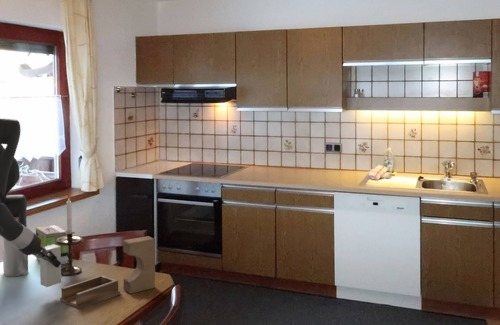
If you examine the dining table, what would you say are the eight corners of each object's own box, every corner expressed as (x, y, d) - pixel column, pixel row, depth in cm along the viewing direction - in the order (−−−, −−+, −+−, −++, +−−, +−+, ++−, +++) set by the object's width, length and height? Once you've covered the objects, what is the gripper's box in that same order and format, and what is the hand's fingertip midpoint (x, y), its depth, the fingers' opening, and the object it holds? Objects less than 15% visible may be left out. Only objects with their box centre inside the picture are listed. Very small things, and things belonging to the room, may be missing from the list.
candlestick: (88, 268, 229) (86, 189, 225) (77, 277, 219) (75, 193, 214) (64, 267, 231) (62, 188, 226) (52, 275, 220) (49, 192, 215)
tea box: (69, 263, 236) (68, 230, 234) (46, 267, 230) (45, 234, 228) (57, 254, 248) (57, 223, 246) (35, 258, 242) (34, 226, 240)
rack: (59, 300, 194) (59, 287, 194) (99, 286, 209) (99, 274, 208) (80, 308, 187) (80, 295, 187) (120, 293, 202) (120, 281, 201)
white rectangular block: (40, 284, 196) (39, 247, 194) (54, 280, 200) (54, 244, 198) (46, 287, 193) (45, 250, 191) (61, 282, 198) (60, 246, 196)
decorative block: (129, 294, 202) (128, 243, 199) (123, 289, 206) (122, 239, 203) (155, 288, 208) (155, 239, 206) (149, 284, 213) (148, 235, 210)
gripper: (42, 234, 184) (73, 259, 195) (19, 227, 192) (50, 251, 203) (28, 252, 180) (60, 277, 192) (6, 244, 188) (38, 268, 200)
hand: (55, 263), depth 197 cm, fingers closed on white rectangular block, 4 cm apart
